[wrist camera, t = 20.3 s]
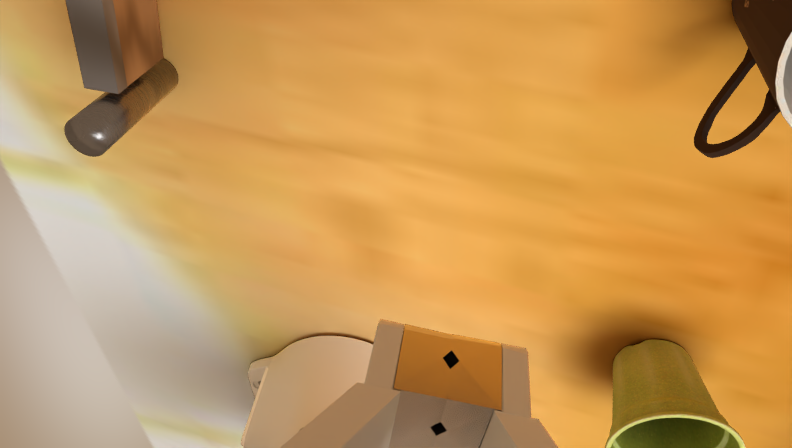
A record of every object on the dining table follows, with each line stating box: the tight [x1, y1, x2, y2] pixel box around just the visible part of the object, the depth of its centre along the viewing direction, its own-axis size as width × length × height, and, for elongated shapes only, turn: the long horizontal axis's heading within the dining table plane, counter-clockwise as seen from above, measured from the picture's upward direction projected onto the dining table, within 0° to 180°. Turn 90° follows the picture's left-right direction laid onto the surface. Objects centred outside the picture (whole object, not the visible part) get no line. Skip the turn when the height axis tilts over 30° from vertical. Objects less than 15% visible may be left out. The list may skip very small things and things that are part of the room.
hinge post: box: [65, 58, 178, 157], centre depth 36 cm, size 2×2×9 cm
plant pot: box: [605, 340, 745, 448], centre depth 46 cm, size 9×9×9 cm
